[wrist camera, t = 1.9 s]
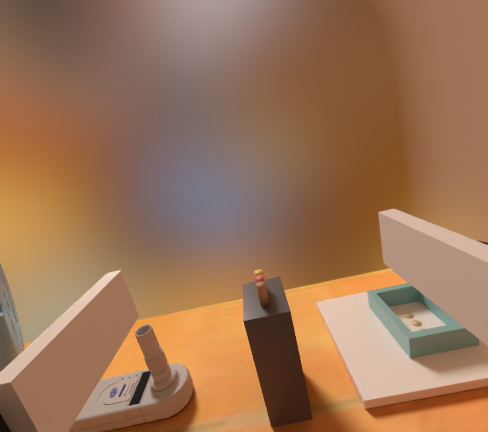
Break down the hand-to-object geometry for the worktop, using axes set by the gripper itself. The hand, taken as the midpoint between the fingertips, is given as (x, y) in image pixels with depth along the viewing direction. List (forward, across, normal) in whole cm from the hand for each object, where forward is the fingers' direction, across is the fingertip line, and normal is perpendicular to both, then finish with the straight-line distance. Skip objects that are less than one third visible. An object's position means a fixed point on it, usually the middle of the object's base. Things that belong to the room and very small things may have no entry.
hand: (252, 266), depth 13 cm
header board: (+15, +17, -20) cm, 30 cm away
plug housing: (+10, 0, -20) cm, 22 cm away
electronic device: (+12, -18, -20) cm, 30 cm away
